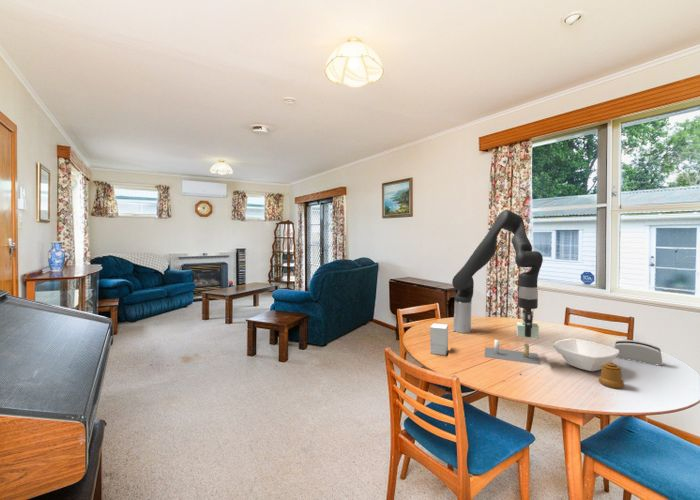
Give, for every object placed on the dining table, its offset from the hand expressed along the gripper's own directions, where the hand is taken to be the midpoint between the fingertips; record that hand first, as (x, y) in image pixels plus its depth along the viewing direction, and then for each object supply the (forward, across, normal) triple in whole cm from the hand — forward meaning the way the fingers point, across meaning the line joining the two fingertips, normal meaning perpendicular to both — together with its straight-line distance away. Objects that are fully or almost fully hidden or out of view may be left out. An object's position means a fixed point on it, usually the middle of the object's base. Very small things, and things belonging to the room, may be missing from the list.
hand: (527, 334), depth 148 cm
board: (+12, 0, -6) cm, 13 cm away
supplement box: (+12, +4, -37) cm, 39 cm away
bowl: (+12, -2, +22) cm, 25 cm away
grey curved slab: (+12, -19, +45) cm, 50 cm away
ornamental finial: (+12, +14, +27) cm, 33 cm away
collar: (+1, 0, 0) cm, 1 cm away
